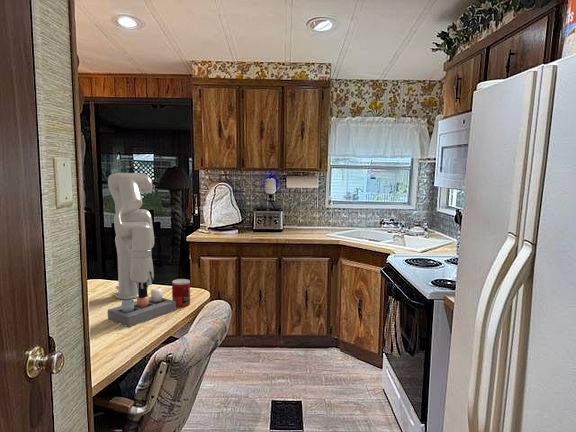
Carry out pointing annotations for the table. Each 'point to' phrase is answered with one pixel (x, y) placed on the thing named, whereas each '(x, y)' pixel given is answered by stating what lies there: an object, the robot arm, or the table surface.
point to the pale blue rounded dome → (127, 306)
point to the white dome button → (156, 295)
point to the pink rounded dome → (142, 302)
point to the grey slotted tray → (141, 312)
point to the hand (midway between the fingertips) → (142, 297)
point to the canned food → (181, 292)
